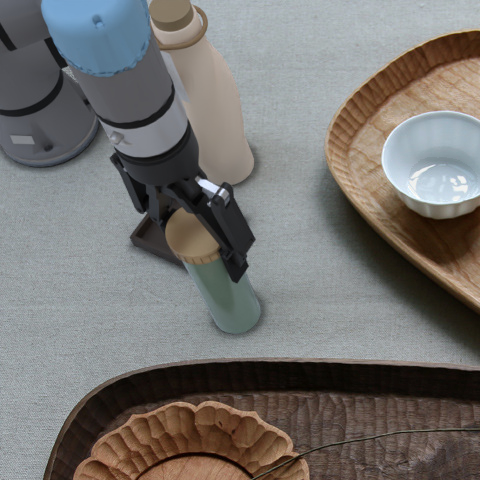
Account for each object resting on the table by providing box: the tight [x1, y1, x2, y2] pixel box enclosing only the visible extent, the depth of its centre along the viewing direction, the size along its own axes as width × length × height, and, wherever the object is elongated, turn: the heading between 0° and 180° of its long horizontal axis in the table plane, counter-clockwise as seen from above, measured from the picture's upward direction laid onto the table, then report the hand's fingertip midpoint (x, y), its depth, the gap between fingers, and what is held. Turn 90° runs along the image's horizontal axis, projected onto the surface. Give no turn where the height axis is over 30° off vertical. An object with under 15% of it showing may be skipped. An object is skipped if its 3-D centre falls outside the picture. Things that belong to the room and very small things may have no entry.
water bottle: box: [148, 0, 255, 186], centre depth 106 cm, size 10×9×28 cm
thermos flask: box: [182, 257, 262, 335], centre depth 101 cm, size 6×6×19 cm
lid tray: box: [128, 197, 186, 269], centre depth 114 cm, size 12×10×2 cm
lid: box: [165, 207, 221, 265], centre depth 92 cm, size 7×7×2 cm
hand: (212, 261), depth 98 cm, fingers closed on lid, 7 cm apart
